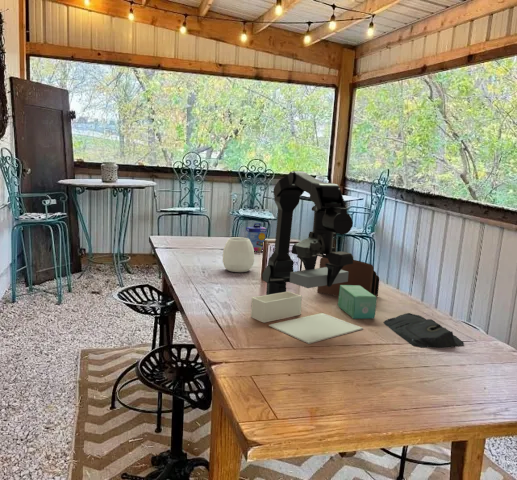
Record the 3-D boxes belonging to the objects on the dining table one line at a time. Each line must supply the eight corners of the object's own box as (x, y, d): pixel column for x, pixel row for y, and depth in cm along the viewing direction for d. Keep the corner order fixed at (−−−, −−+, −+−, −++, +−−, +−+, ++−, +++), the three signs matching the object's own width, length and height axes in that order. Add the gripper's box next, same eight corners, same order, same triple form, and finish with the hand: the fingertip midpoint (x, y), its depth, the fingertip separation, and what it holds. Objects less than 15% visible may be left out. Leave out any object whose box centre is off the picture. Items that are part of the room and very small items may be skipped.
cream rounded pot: (253, 275, 203) (254, 242, 201) (220, 273, 203) (221, 240, 201) (254, 268, 216) (255, 237, 214) (223, 266, 216) (224, 235, 214)
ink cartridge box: (247, 252, 252) (249, 223, 249) (244, 250, 257) (245, 222, 254) (266, 251, 255) (267, 223, 253) (261, 249, 261) (263, 222, 258)
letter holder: (369, 303, 173) (373, 263, 171) (316, 292, 182) (319, 254, 180) (378, 296, 182) (381, 258, 179) (326, 287, 191) (329, 251, 189)
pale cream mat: (268, 326, 143) (268, 324, 143) (322, 314, 157) (322, 312, 157) (308, 343, 131) (308, 342, 131) (362, 329, 145) (363, 327, 144)
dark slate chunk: (424, 322, 156) (426, 307, 155) (468, 349, 135) (470, 332, 134) (379, 323, 153) (380, 308, 152) (416, 350, 131) (418, 333, 131)
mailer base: (250, 316, 150) (251, 297, 149) (287, 309, 159) (288, 291, 158) (263, 322, 145) (264, 302, 144) (300, 314, 155) (301, 295, 154)
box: (353, 319, 153) (355, 295, 152) (337, 306, 166) (339, 284, 165) (375, 319, 155) (377, 295, 154) (357, 306, 168) (359, 284, 167)
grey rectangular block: (289, 282, 139) (290, 272, 139) (329, 276, 149) (329, 266, 149) (307, 288, 134) (308, 277, 133) (347, 281, 144) (348, 271, 143)
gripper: (279, 225, 141) (276, 279, 144) (328, 235, 127) (323, 295, 129) (307, 223, 148) (303, 275, 151) (356, 233, 134) (351, 290, 136)
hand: (319, 283), depth 142 cm, fingers closed on grey rectangular block, 7 cm apart
